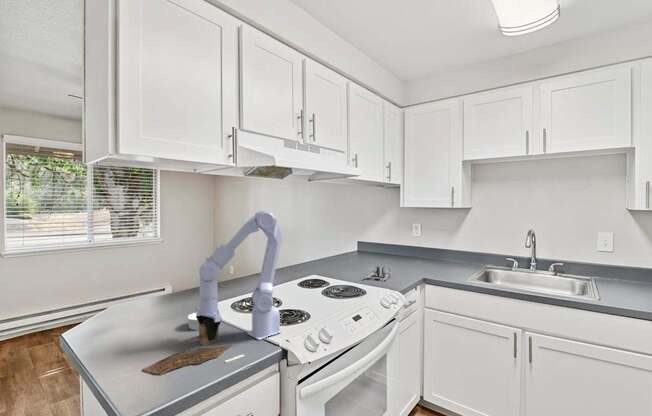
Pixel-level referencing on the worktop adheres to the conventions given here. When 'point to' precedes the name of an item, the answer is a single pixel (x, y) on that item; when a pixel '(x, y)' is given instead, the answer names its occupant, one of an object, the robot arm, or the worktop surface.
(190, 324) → the ramekin
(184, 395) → the worktop surface
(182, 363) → the wooden fragment
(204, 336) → the mallet
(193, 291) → the worktop surface
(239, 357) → the strip
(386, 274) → the bike brake
